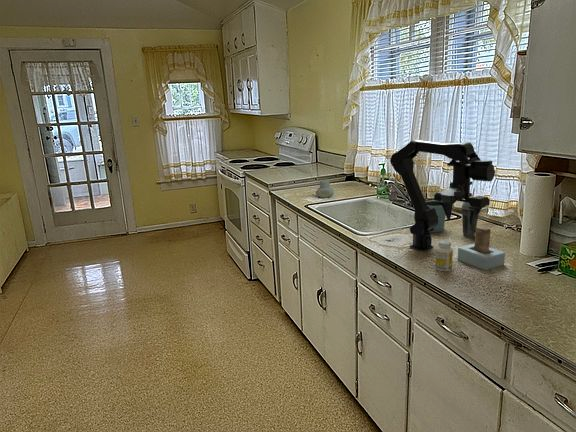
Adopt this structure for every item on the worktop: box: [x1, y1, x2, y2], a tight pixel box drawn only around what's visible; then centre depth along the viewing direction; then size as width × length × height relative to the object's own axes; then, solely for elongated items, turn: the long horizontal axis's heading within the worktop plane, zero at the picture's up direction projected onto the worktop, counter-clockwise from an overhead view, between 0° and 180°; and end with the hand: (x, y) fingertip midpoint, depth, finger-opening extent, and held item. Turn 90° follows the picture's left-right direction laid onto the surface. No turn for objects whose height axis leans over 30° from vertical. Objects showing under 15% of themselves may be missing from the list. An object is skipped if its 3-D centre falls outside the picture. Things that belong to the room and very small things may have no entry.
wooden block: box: [474, 225, 491, 254], centre depth 148 cm, size 4×2×12 cm, turn 24°
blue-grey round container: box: [425, 199, 446, 233], centre depth 187 cm, size 10×10×12 cm
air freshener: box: [315, 179, 335, 199], centre depth 260 cm, size 11×8×10 cm
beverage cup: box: [460, 187, 480, 238], centre depth 175 cm, size 7×7×20 cm
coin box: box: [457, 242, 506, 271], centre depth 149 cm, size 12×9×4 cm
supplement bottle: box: [434, 239, 454, 272], centre depth 145 cm, size 5×5×10 cm
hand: (459, 222), depth 152 cm, fingers open, 9 cm apart
